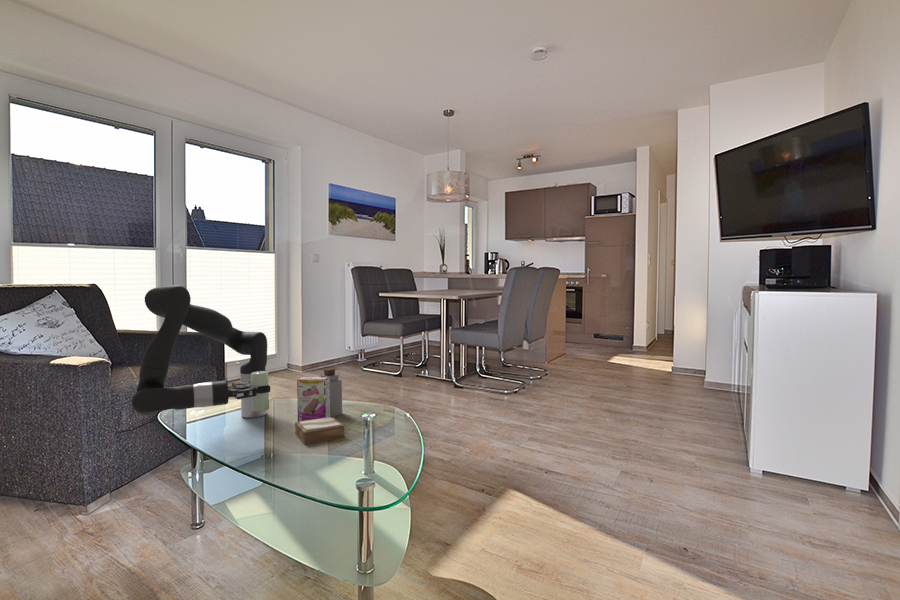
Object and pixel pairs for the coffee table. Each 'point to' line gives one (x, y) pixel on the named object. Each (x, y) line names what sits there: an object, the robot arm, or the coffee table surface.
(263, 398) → the pillar candle
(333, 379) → the perfume bottle
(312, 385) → the candy bar box
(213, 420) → the coffee table surface
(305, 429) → the walnut plinth
